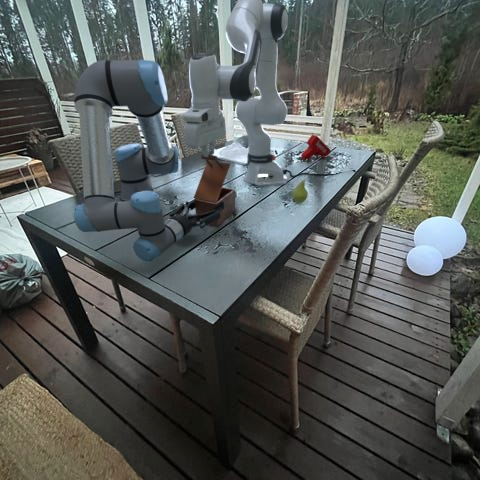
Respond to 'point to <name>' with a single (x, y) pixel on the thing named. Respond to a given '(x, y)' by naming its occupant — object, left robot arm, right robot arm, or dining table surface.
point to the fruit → (300, 192)
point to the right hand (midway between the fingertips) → (208, 155)
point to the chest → (225, 196)
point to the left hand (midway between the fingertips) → (211, 202)
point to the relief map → (233, 153)
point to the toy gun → (315, 148)
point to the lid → (211, 179)
